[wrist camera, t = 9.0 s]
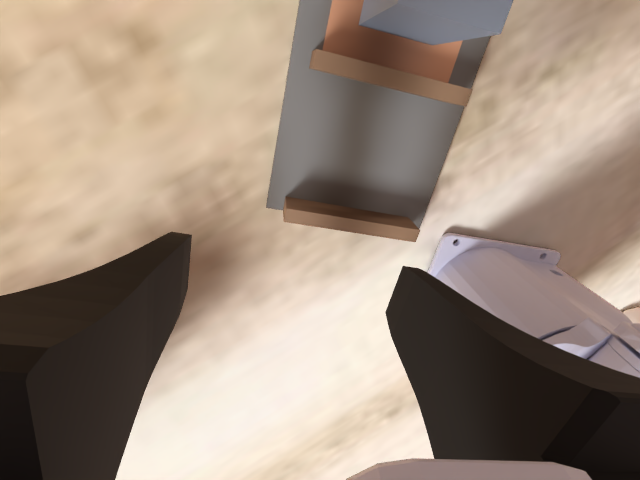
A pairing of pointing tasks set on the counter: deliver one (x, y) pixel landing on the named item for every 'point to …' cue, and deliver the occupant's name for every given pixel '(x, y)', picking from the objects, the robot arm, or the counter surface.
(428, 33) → the plug block
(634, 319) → the white jar
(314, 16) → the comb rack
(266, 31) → the counter surface
